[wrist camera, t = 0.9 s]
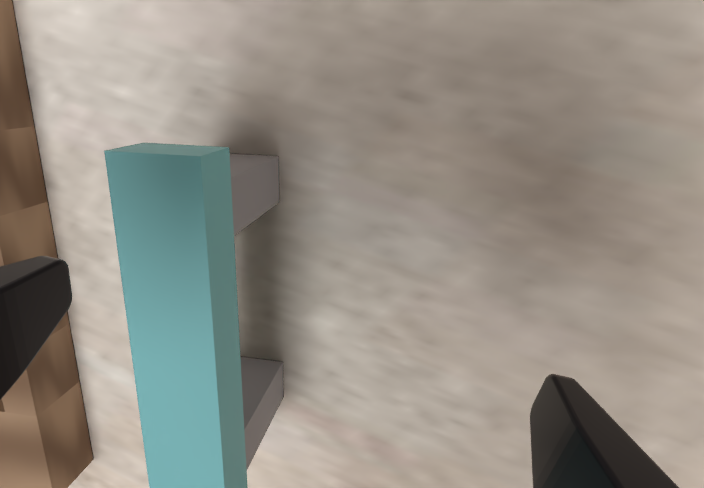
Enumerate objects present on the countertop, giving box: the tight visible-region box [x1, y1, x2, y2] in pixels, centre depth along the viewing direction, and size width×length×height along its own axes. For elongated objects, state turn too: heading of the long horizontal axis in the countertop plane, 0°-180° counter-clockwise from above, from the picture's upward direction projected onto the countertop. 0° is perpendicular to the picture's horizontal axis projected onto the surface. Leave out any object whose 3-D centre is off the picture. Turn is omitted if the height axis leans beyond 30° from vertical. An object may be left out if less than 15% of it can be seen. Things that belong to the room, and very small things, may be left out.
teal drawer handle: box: [104, 143, 284, 488], centre depth 20 cm, size 14×3×7 cm, turn 179°
